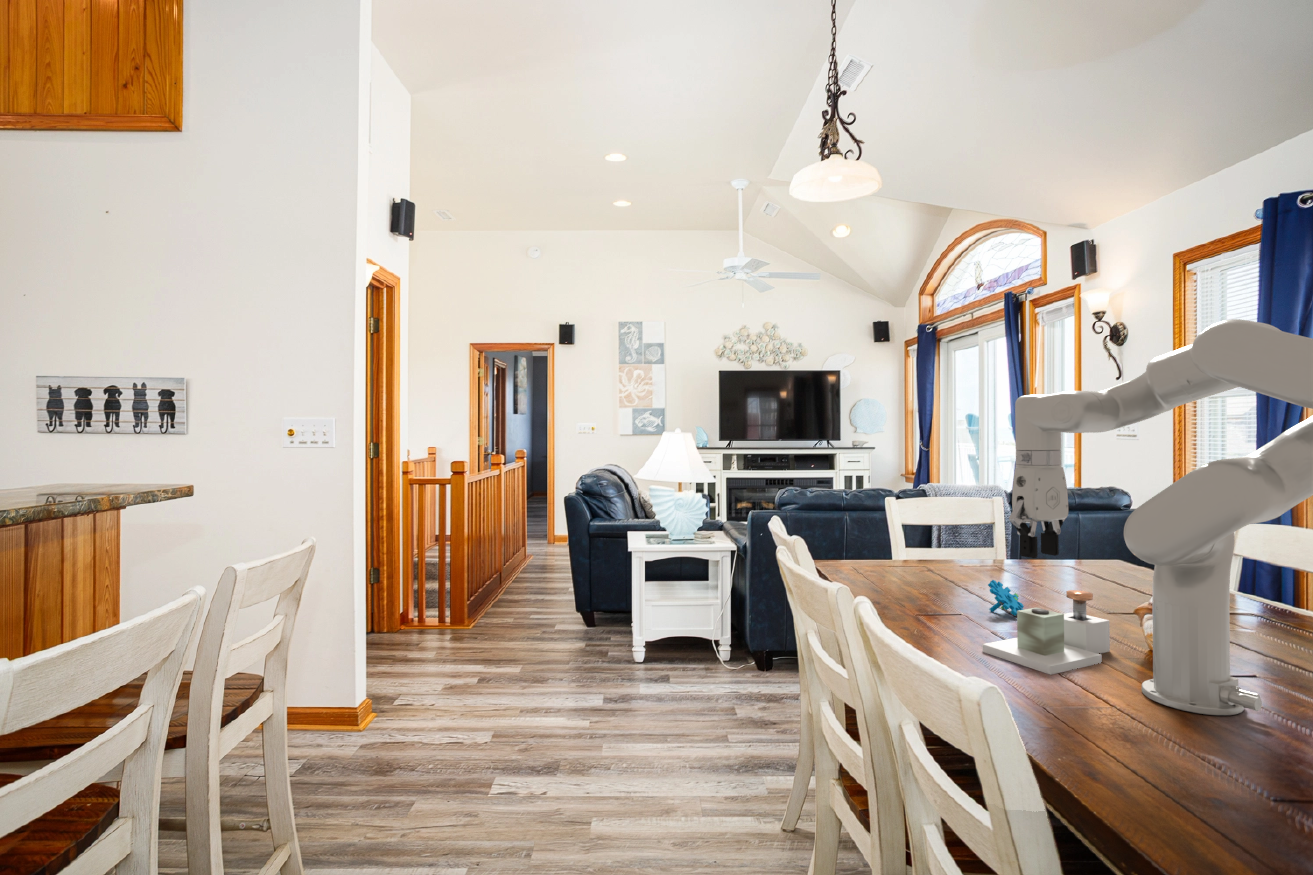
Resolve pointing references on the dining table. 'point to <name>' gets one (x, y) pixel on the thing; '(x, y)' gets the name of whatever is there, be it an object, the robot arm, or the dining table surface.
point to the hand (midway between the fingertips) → (1039, 554)
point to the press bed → (1078, 647)
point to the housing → (1040, 631)
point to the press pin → (1079, 603)
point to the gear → (1004, 598)
